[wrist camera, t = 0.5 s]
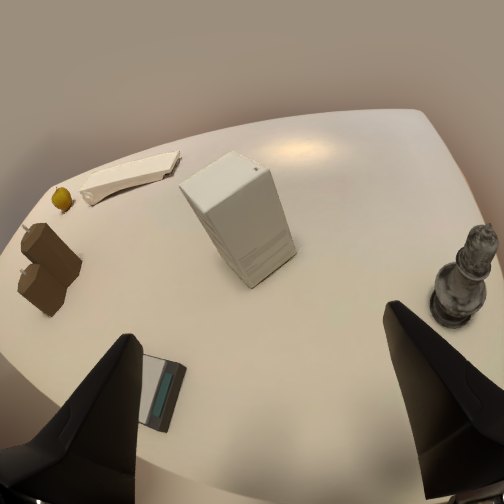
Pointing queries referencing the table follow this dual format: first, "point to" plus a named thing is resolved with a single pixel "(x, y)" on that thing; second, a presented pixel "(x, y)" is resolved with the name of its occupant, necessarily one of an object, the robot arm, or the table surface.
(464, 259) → the pepper mill
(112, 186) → the wall bracket
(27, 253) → the candle
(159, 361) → the kitchen scale
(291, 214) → the table surface
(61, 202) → the apple
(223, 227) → the white packaging box
